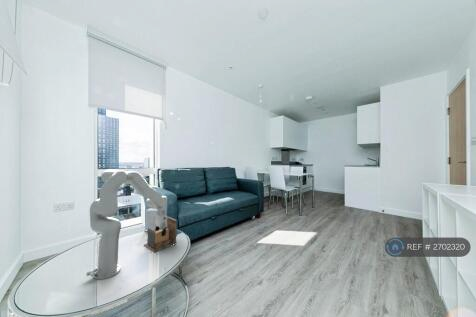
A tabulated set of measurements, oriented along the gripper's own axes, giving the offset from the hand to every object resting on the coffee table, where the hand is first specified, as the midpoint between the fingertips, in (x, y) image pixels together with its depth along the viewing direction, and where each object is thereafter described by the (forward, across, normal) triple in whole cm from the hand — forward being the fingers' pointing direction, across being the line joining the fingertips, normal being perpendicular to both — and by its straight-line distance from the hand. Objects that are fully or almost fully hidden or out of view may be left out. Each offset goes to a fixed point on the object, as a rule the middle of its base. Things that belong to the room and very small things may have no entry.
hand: (160, 234), depth 139 cm
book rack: (+9, 0, -1) cm, 9 cm away
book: (+8, 0, -1) cm, 8 cm away
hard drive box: (+8, +30, -11) cm, 33 cm away
